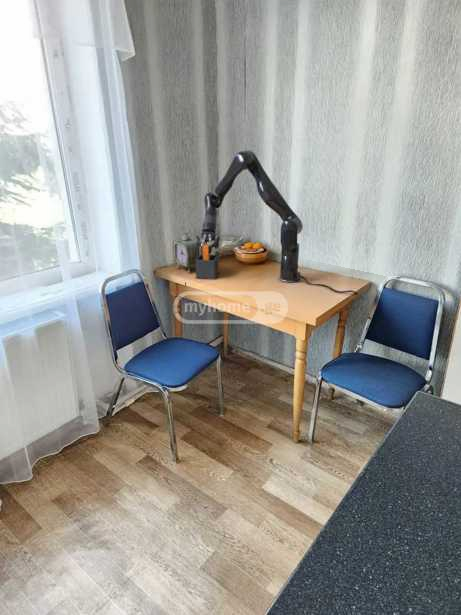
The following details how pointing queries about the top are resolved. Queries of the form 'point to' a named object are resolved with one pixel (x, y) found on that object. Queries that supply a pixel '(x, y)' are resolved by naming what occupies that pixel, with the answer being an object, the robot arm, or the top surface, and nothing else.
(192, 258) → the tabletop clock
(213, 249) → the lantern
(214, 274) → the bin
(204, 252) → the packet
